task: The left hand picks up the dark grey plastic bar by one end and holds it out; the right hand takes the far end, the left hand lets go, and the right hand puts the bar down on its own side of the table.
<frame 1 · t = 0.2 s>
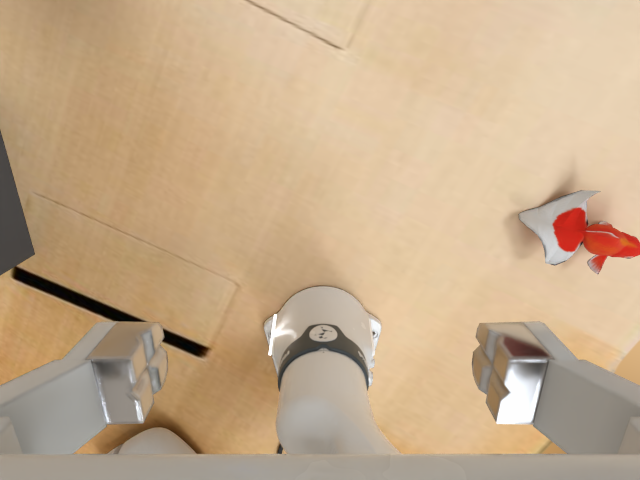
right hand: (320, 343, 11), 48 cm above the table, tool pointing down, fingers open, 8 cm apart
fish: (561, 224, 60), on the table
light grey rounded piece: (174, 464, 77), on the table
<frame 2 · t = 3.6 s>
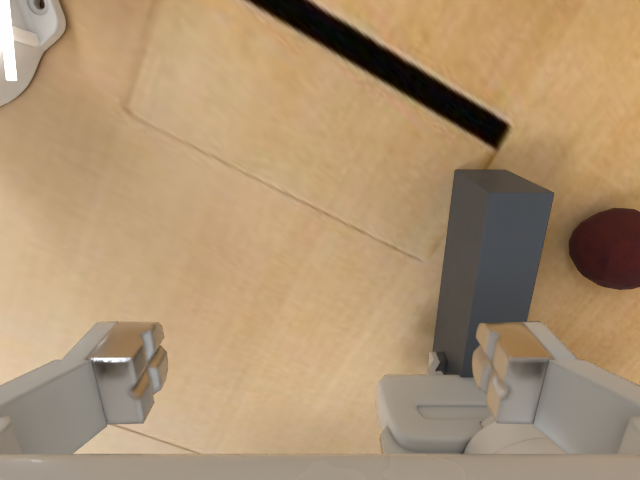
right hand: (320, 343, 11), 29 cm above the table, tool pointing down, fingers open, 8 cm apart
potato: (592, 234, 41), on the table
bar: (464, 279, 43), on the table, touching left hand
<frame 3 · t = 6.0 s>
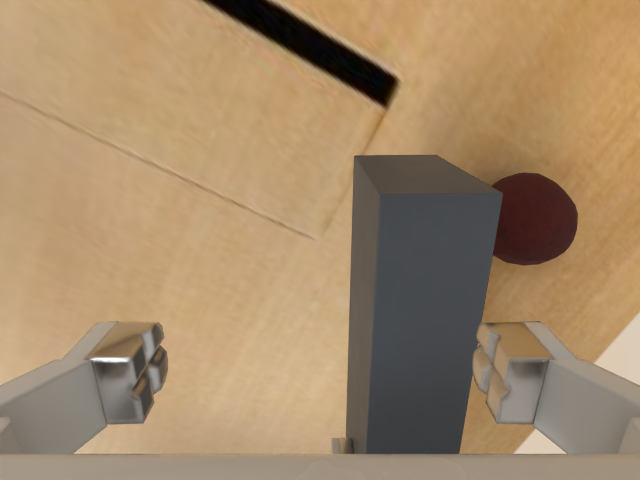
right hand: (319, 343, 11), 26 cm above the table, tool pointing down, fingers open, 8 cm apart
potato: (501, 205, 37), on the table
bar: (384, 323, 28), point 11 cm above the table, touching left hand
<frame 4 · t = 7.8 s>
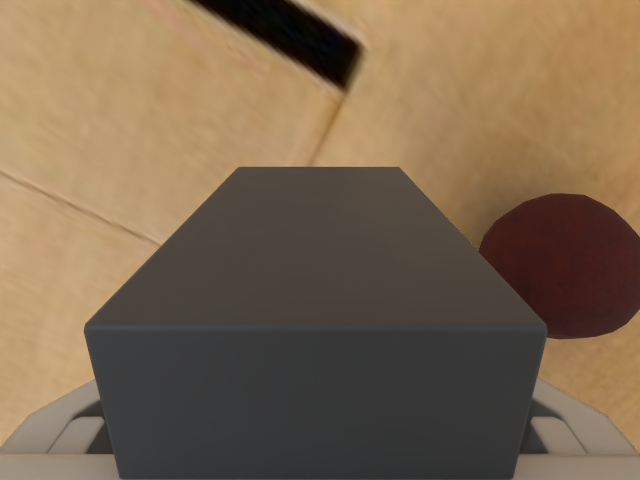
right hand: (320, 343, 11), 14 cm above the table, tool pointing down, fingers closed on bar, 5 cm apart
potato: (523, 239, 25), on the table
bar: (318, 452, 16), point 11 cm above the table, touching right hand, left hand
when the left hand's fingers open (14 cm above the table, at t = 8.8 s): bar stays where it is, held by the right hand.
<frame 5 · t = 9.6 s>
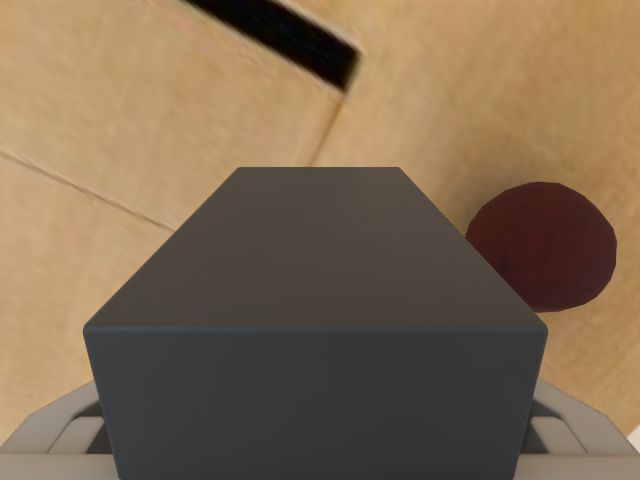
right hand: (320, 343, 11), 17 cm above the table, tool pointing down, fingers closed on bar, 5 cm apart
potato: (508, 226, 27), on the table
bar: (319, 453, 16), point 13 cm above the table, touching right hand
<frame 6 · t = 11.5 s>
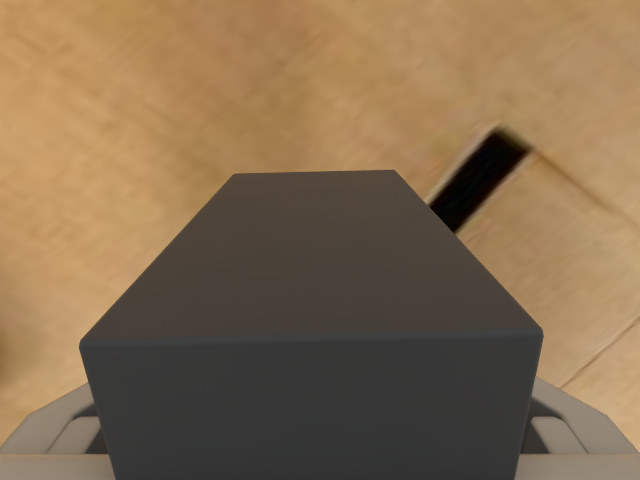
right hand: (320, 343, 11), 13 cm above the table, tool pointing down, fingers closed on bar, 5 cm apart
bar: (322, 457, 16), point 9 cm above the table, touching right hand
when the right hand's fingers open (5 cm above the table, at t = 13.0 s): bar drops 1 cm, on the table.
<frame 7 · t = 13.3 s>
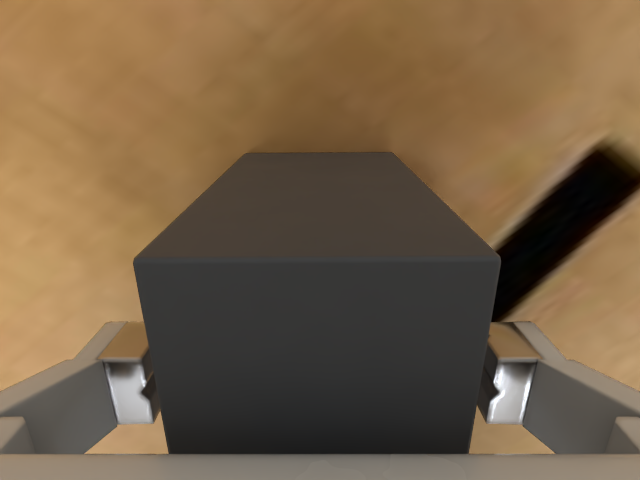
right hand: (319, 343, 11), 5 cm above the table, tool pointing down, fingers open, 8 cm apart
bar: (320, 423, 17), on the table
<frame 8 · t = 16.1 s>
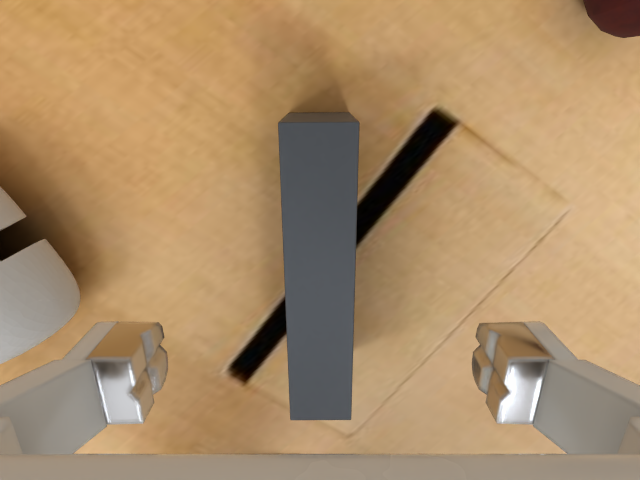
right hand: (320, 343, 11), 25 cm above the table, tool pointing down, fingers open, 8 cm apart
bar: (319, 246, 37), on the table
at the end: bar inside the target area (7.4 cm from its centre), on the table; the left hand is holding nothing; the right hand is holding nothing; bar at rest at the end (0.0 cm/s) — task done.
